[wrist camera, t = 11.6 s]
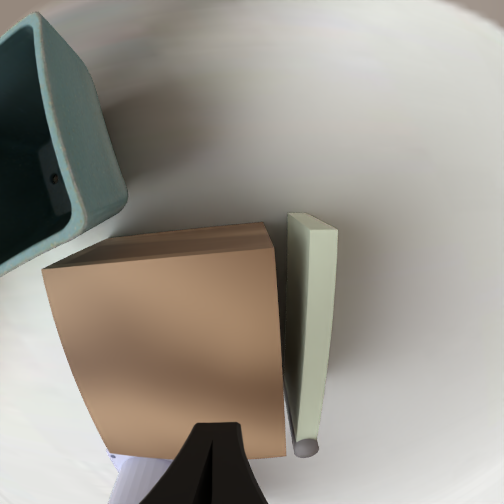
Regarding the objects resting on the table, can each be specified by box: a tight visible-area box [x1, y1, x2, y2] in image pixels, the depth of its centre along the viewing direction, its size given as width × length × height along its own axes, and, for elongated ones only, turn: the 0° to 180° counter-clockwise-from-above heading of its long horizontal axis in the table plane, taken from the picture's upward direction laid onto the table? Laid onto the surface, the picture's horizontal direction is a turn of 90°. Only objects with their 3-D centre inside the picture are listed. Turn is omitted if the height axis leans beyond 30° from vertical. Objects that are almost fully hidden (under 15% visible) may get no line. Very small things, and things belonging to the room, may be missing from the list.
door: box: [283, 213, 338, 458], centre depth 15 cm, size 11×1×6 cm, turn 1°
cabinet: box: [41, 222, 286, 460], centre depth 15 cm, size 10×9×7 cm
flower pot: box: [0, 12, 128, 277], centre depth 12 cm, size 9×9×9 cm
